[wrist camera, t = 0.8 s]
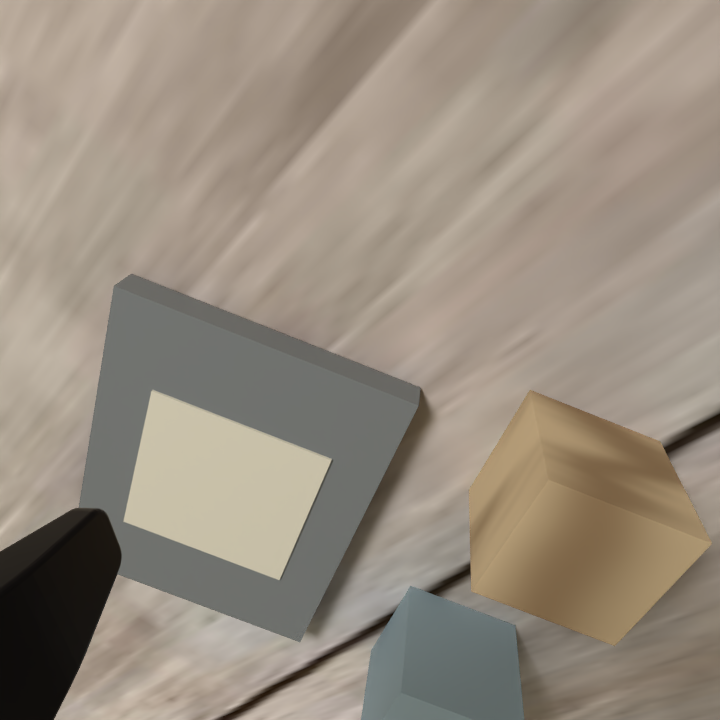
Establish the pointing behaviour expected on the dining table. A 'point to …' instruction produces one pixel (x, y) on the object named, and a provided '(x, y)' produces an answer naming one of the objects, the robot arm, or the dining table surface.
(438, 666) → the blue block
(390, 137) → the dining table surface
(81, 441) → the dining table surface
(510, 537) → the oak block
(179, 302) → the board
